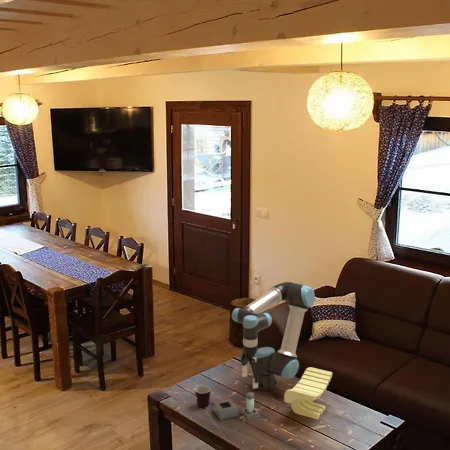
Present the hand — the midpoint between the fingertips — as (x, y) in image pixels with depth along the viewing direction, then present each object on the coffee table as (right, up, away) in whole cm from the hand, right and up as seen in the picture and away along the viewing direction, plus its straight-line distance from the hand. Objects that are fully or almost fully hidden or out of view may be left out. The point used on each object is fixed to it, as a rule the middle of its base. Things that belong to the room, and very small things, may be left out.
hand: (249, 382), depth 302 cm
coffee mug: (-25, -17, +17) cm, 35 cm away
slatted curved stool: (+33, -18, +10) cm, 39 cm away
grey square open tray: (0, -19, +5) cm, 20 cm away
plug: (0, -19, +4) cm, 19 cm away
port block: (-13, -19, +6) cm, 24 cm away
